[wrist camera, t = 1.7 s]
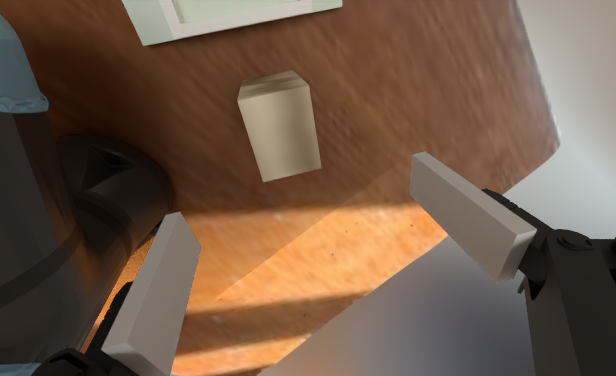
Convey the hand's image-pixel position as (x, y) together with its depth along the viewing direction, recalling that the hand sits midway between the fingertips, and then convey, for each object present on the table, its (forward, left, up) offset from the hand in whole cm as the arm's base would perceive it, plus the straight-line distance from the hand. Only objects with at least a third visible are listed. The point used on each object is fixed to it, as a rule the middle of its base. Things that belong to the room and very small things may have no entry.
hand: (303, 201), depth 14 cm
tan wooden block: (0, 0, -20) cm, 20 cm away
